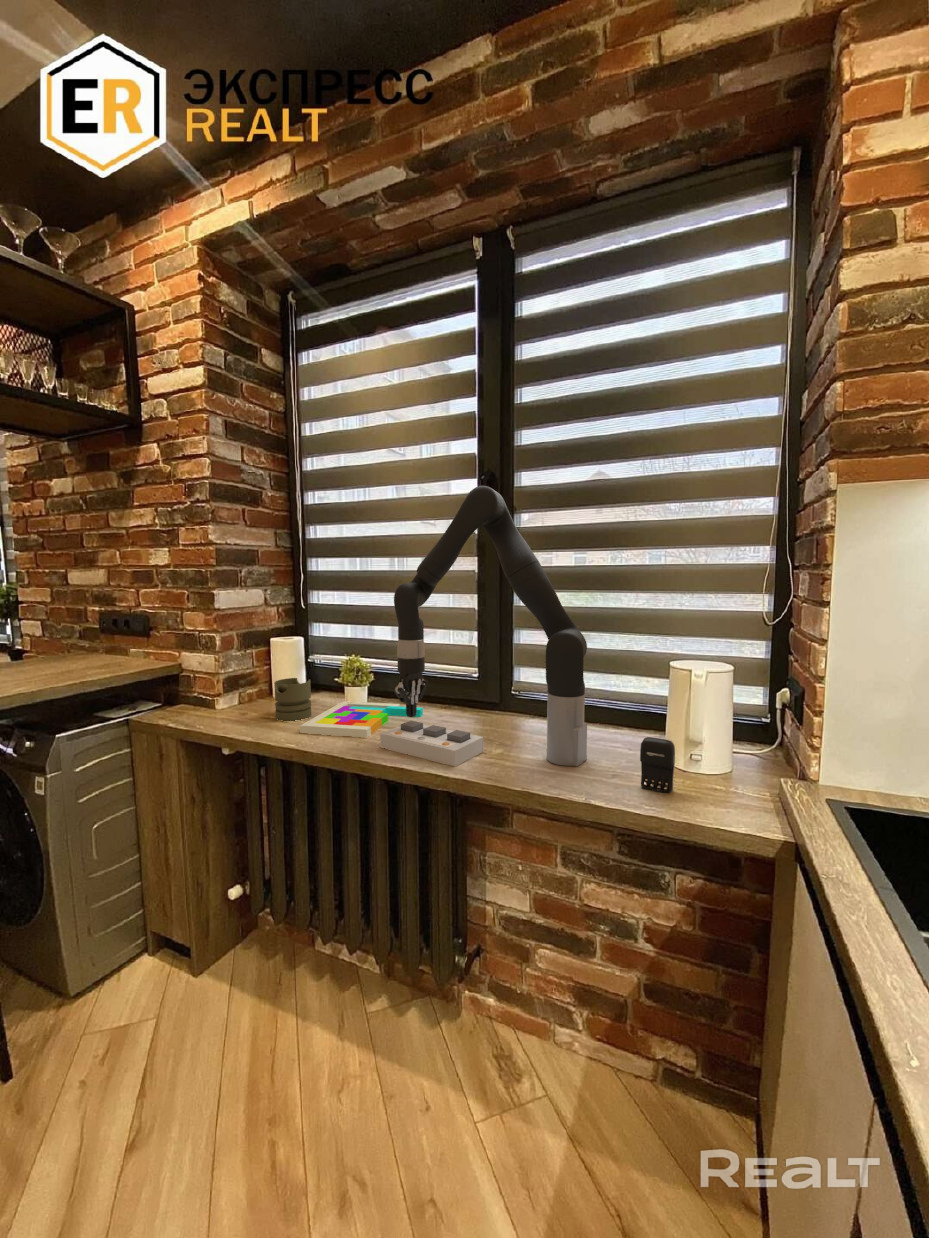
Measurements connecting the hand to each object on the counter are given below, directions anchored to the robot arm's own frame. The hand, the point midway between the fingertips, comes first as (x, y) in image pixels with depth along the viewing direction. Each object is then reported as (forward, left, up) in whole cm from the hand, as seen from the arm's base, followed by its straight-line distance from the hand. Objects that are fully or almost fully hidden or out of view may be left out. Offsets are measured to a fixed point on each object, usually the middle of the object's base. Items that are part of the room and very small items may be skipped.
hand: (411, 716), depth 146 cm
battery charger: (-65, -6, -8) cm, 66 cm away
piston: (+50, +1, -8) cm, 50 cm away
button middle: (-8, 0, -5) cm, 9 cm away
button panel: (-8, +1, -8) cm, 11 cm away
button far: (0, 0, -5) cm, 5 cm away
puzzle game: (+25, -8, -8) cm, 27 cm away
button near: (-16, 0, -5) cm, 17 cm away
